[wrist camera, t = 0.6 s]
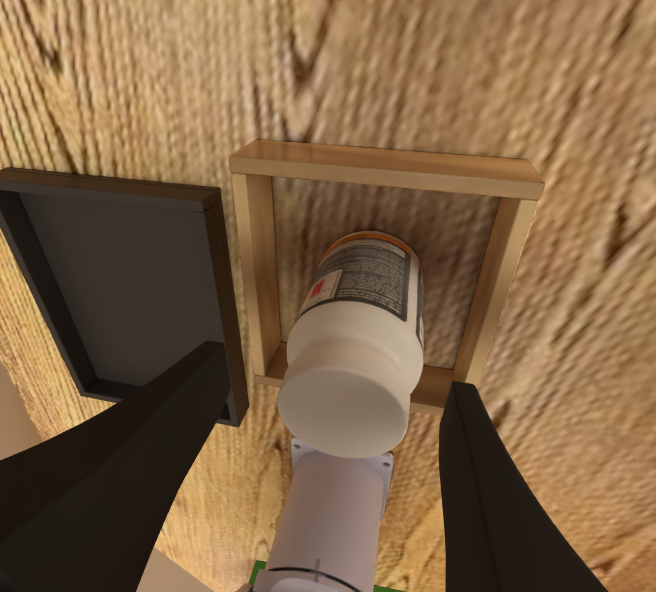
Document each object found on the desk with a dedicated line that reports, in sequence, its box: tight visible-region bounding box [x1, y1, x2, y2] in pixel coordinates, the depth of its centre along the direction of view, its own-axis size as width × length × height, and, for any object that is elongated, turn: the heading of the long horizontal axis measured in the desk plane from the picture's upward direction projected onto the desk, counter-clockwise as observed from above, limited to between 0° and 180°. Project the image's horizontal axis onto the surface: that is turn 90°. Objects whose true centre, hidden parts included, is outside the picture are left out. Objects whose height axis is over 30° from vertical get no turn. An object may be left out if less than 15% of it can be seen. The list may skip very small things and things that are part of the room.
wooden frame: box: [229, 139, 545, 416], centre depth 21 cm, size 13×12×3 cm
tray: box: [0, 167, 249, 427], centre depth 26 cm, size 17×13×2 cm
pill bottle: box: [277, 231, 424, 458], centre depth 18 cm, size 6×6×10 cm
